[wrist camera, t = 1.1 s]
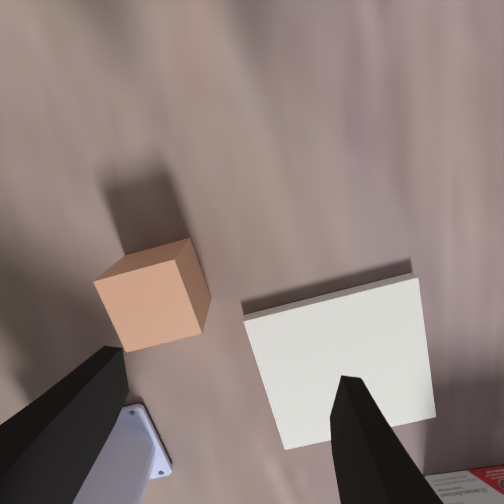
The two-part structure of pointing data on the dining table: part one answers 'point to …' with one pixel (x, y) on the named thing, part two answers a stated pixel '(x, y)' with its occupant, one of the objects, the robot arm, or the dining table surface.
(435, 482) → the ink box
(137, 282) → the cube
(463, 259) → the dining table surface
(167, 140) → the dining table surface
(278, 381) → the mat
